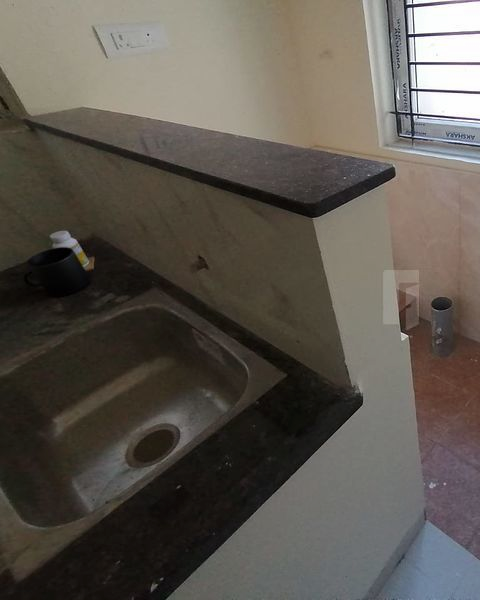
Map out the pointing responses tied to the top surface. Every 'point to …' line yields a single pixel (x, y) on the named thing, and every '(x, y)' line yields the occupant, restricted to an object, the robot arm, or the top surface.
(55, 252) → the mug
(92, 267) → the cork trivet
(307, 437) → the top surface
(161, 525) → the top surface
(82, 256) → the supplement bottle
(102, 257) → the top surface
